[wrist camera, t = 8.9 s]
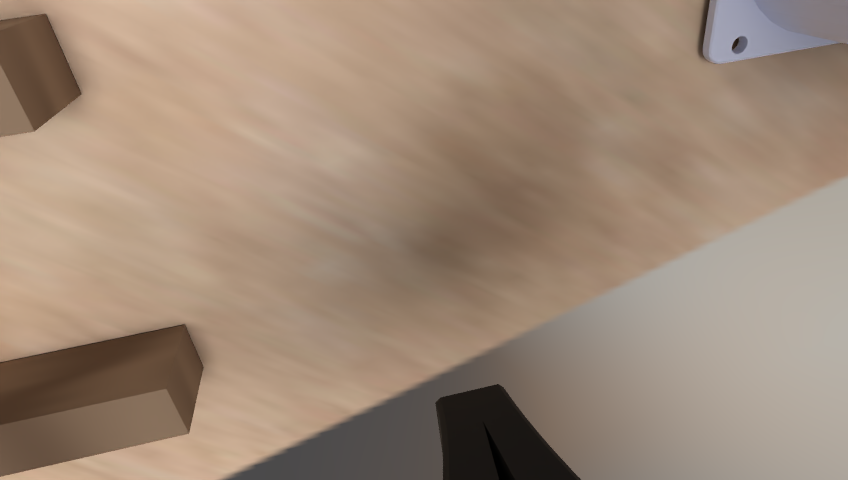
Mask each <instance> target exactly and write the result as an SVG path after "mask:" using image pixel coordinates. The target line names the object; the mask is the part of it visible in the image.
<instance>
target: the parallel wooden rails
mask: <svg viewBox="0 0 848 480" xmlns="http://www.w3.org/2000/svg"><path fill="white" fill-rule="evenodd" d="M80 95H81V92H80V90H79V88H78V86H77V83H76V81H75V79H74V77H73V74H72V72H71V70H70V68H69V66H68V63H67V61H66V59H65V57H64V54H63V52H62V50H61V48H60V45H59V43H58V41H57V39H56V36H55V34H54V32H53V30H52V28H51V25H50V23H49V21H48V19H47V16H46V14H42V15H35V16H28V17H21V18H14V19H7V20H0V137H3V136H9V135H15V134H21V133H27V132H33V131H35V130H37V129H38V128H39V127H41V126H42V125H43V124H44V123H46V122H47V121H48V120H49V119H51V118H52V117H53V116H54V115H56V114H57V113H58V112H59V111H61V110H62V109H63V108H65V107H66V106H67V105H68V104H70V103H71V102H72V101H73V100H75V99H76V98H77V97H78V96H80ZM202 371H203V365H202V363H201V361H200V359H199V356H198V354H197V352H196V350H195V347H194V345H193V343H192V341H191V338H190V336H189V334H188V332H187V329H186V327H185V325H181V326H177V327H172V328H167V329H162V330H157V331H152V332H148V333H143V334H138V335H133V336H128V337H123V338H119V339H114V340H109V341H104V342H99V343H94V344H90V345H85V346H80V347H75V348H70V349H66V350H61V351H56V352H51V353H46V354H41V355H37V356H32V357H27V358H22V359H17V360H12V361H8V362H3V363H0V477H1V476H5V475H10V474H14V473H18V472H23V471H27V470H31V469H36V468H40V467H45V466H49V465H53V464H58V463H62V462H66V461H71V460H75V459H80V458H84V457H88V456H93V455H97V454H101V453H106V452H110V451H115V450H119V449H123V448H128V447H132V446H136V445H141V444H145V443H150V442H154V441H158V440H163V439H167V438H171V437H176V436H180V435H185V434H189V431H190V426H191V422H192V417H193V413H194V408H195V403H196V399H197V394H198V390H199V385H200V380H201V376H202Z"/></svg>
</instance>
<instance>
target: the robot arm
mask: <svg viewBox="0 0 848 480" xmlns="http://www.w3.org/2000/svg"><path fill="white" fill-rule="evenodd" d="M738 37H739V42H738V45H737V46H736V48H735V49H734V50H732V45H733V42H734V41H735V40H736V39H737V38H738ZM837 43H845V44H848V0H710V4H709V10H708V17H707V23H706V30H705V37H704V43H703V55H704V57H705V59H706V60H708V61H710V62H713V63H716V64H723V63H728V62H734V61H740V60H745V59H751V58H757V57H763V56H768V55H774V54H780V53H786V52H791V51H797V50H803V49H808V48H814V47H820V46H826V45H831V44H837ZM436 411H437V417H438V424H439V430H440V438H441V444H442V452H443V480H581V479H580V478H579V477H578V476H577V475H576V474H575V473H574V472H573V471H572V470H571V469H570V468H569V467H568V465H566V463H565V462H564V461H563V460H562V459H561V458H560V457H559V456H558V455H557V453H555V451H554V450H553V449H552V448H551V447H550V446H549V445H548V444H547V442H546V441H545V440H544V439H543V438H542V437H541V435H540V434H539V433H538V432H537V431H536V429H535V428H534V427H533V426H532V425H531V423H530V422H529V421H528V420H527V418H526V417H525V416H524V415H523V413H522V412H521V411H520V410H519V408H518V407H517V406H516V404H515V403H514V402H513V400H512V399H511V397H510V396H509V395H508V393H507V392H506V390H505V389H504V388H503V387H502V386H500V385H499V384H497V385H493V386H488V387H484V388H480V389H475V390H471V391H467V392H463V393H458V394H454V395H450V396H446V397H442V398H440V399H439V400H438V401H437V402H436Z"/></svg>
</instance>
